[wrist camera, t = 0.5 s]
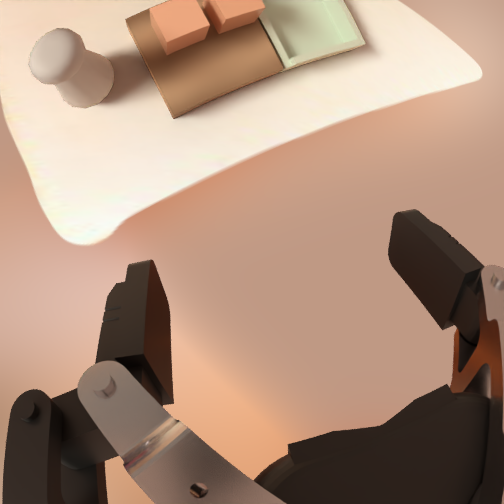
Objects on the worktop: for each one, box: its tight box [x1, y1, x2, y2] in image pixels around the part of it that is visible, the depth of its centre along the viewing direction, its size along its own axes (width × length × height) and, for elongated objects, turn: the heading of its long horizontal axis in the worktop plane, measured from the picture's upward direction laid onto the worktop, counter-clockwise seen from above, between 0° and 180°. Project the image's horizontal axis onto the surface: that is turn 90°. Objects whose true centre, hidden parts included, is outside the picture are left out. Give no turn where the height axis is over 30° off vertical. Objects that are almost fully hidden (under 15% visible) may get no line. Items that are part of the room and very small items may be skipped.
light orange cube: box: [149, 0, 210, 55], centre depth 23 cm, size 4×4×4 cm
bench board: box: [125, 0, 283, 119], centre depth 27 cm, size 12×12×3 cm
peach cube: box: [202, 0, 266, 34], centre depth 23 cm, size 4×4×4 cm
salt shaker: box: [28, 28, 114, 108], centre depth 21 cm, size 6×6×13 cm
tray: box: [257, 0, 366, 73], centre depth 28 cm, size 11×10×4 cm
